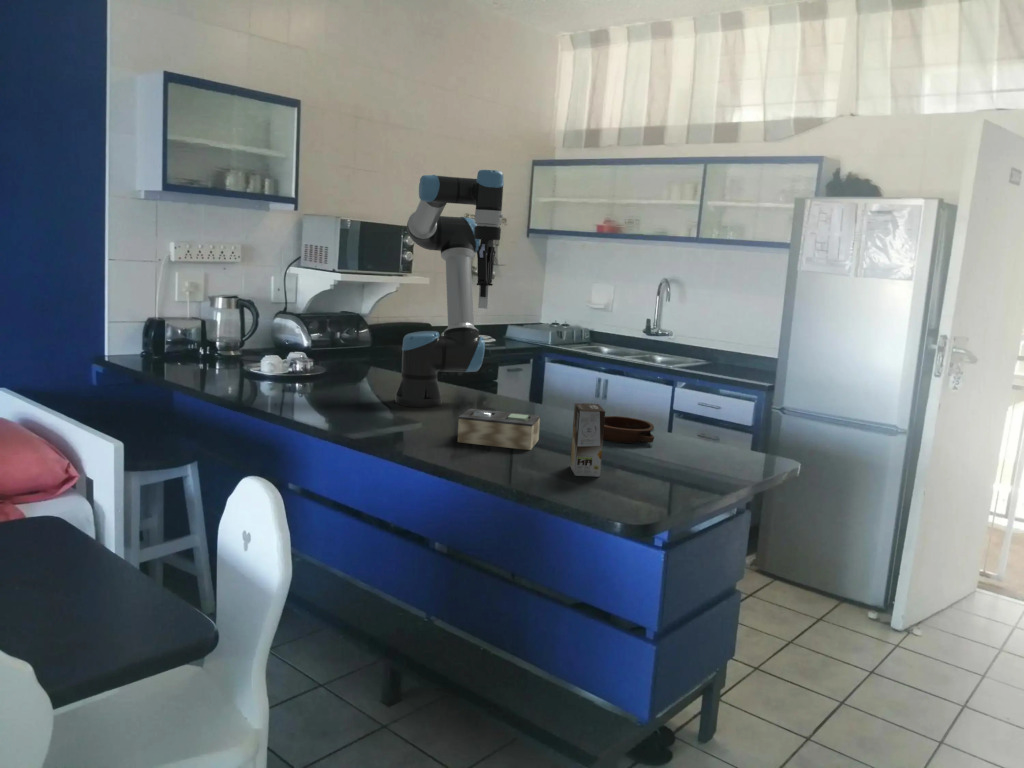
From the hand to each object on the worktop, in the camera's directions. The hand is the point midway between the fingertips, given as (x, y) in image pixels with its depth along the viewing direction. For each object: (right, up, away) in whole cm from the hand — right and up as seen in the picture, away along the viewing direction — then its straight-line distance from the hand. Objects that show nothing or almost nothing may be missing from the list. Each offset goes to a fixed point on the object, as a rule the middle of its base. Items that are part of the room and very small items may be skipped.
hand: (483, 308), depth 241 cm
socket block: (+5, -38, -15) cm, 41 cm away
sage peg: (+10, -38, -16) cm, 42 cm away
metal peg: (0, -37, -14) cm, 39 cm away
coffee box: (+26, -44, -39) cm, 64 cm away
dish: (+40, -38, -2) cm, 55 cm away
